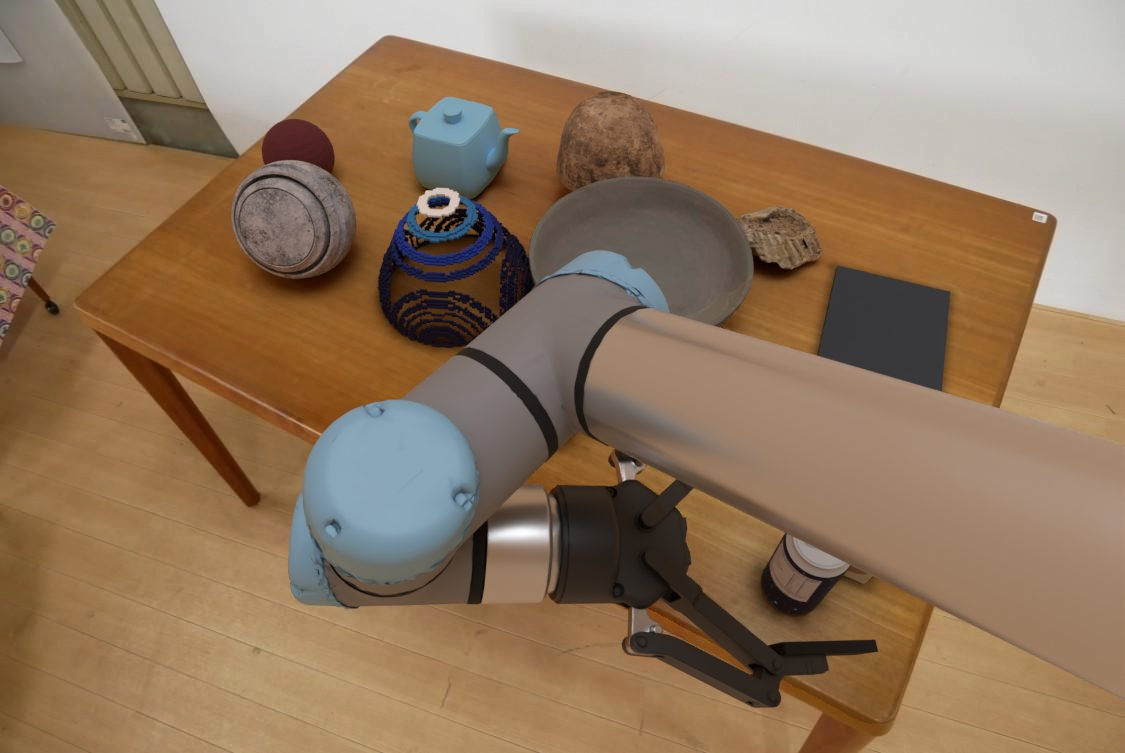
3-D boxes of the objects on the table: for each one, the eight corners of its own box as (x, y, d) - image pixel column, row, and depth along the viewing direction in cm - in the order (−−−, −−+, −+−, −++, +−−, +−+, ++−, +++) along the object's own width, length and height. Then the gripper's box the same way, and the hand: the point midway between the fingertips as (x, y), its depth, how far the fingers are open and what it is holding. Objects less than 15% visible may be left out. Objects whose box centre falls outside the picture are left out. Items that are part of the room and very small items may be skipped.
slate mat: (937, 419, 78) (939, 416, 77) (811, 384, 81) (812, 381, 81) (948, 294, 89) (950, 291, 88) (836, 268, 92) (837, 265, 91)
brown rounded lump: (666, 167, 105) (676, 74, 93) (655, 238, 96) (665, 146, 84) (568, 157, 107) (566, 66, 95) (548, 226, 98) (543, 135, 86)
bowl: (725, 232, 96) (738, 173, 88) (754, 388, 81) (772, 334, 73) (537, 235, 97) (532, 177, 89) (530, 390, 82) (524, 337, 74)
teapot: (506, 219, 99) (498, 151, 90) (399, 188, 104) (380, 121, 95) (542, 168, 106) (538, 100, 97) (440, 141, 111) (426, 74, 101)
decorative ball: (353, 187, 104) (333, 129, 96) (290, 213, 101) (264, 156, 93) (327, 154, 109) (306, 96, 101) (266, 178, 106) (240, 120, 98)
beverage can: (820, 622, 65) (861, 578, 56) (759, 613, 66) (789, 568, 56) (817, 564, 69) (855, 513, 59) (759, 556, 69) (787, 504, 60)
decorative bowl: (523, 351, 85) (512, 268, 74) (365, 342, 87) (330, 259, 75) (541, 238, 97) (535, 151, 85) (401, 232, 98) (376, 145, 87)
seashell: (811, 287, 94) (816, 218, 96) (831, 270, 87) (836, 196, 89) (728, 276, 94) (735, 207, 96) (742, 258, 87) (749, 184, 89)
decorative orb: (244, 296, 92) (192, 207, 80) (281, 222, 100) (239, 132, 88) (352, 303, 91) (315, 214, 79) (380, 227, 99) (352, 136, 87)
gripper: (534, 391, 54) (785, 404, 58) (542, 759, 43) (851, 742, 47) (552, 345, 47) (834, 363, 51) (568, 767, 36) (924, 746, 40)
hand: (843, 544), depth 49 cm, fingers open, 13 cm apart
